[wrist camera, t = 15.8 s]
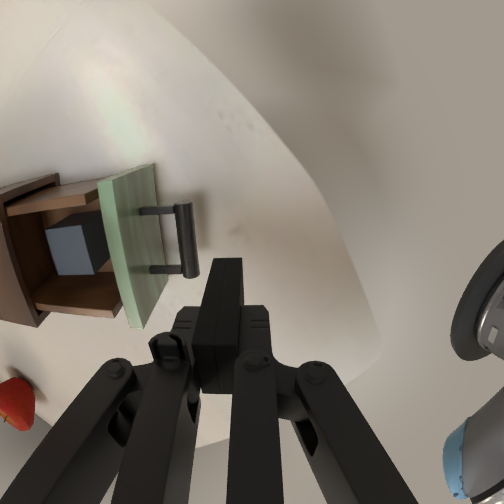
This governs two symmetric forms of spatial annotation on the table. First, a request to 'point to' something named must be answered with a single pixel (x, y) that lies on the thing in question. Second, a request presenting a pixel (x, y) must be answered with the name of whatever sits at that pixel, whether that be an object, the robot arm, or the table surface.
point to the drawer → (119, 243)
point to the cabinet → (5, 262)
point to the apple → (17, 403)
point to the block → (79, 243)
